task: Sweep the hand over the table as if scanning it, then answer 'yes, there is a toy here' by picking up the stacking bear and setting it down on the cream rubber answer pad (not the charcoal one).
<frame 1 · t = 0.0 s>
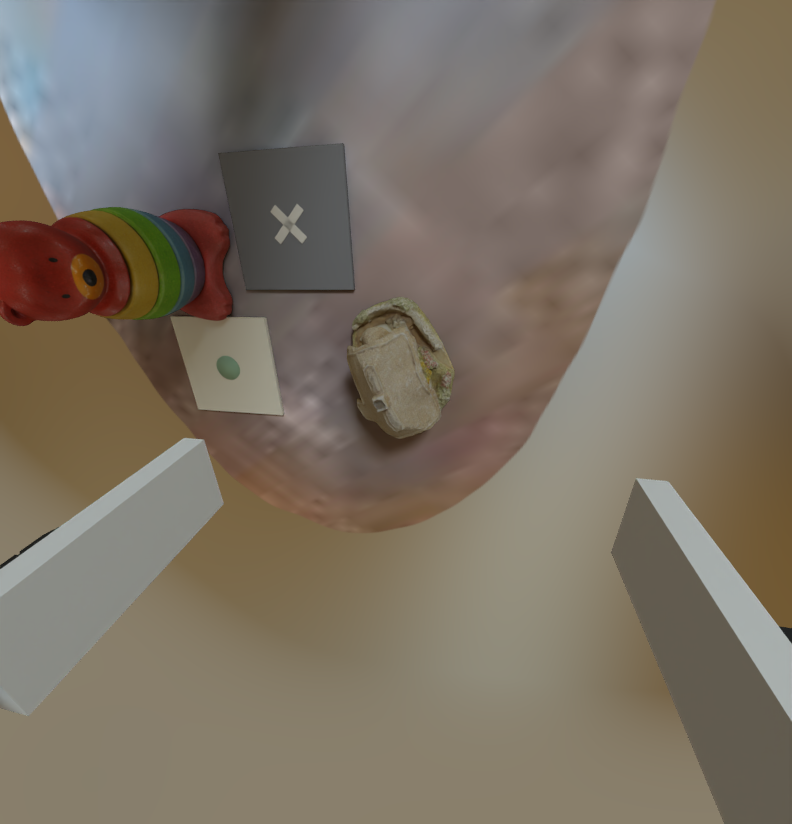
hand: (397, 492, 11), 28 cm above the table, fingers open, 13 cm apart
beige piece: (400, 364, 40), on the table
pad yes: (230, 366, 44), on the table
stacking bear: (191, 263, 39), on the table, touching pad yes
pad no: (290, 224, 35), on the table
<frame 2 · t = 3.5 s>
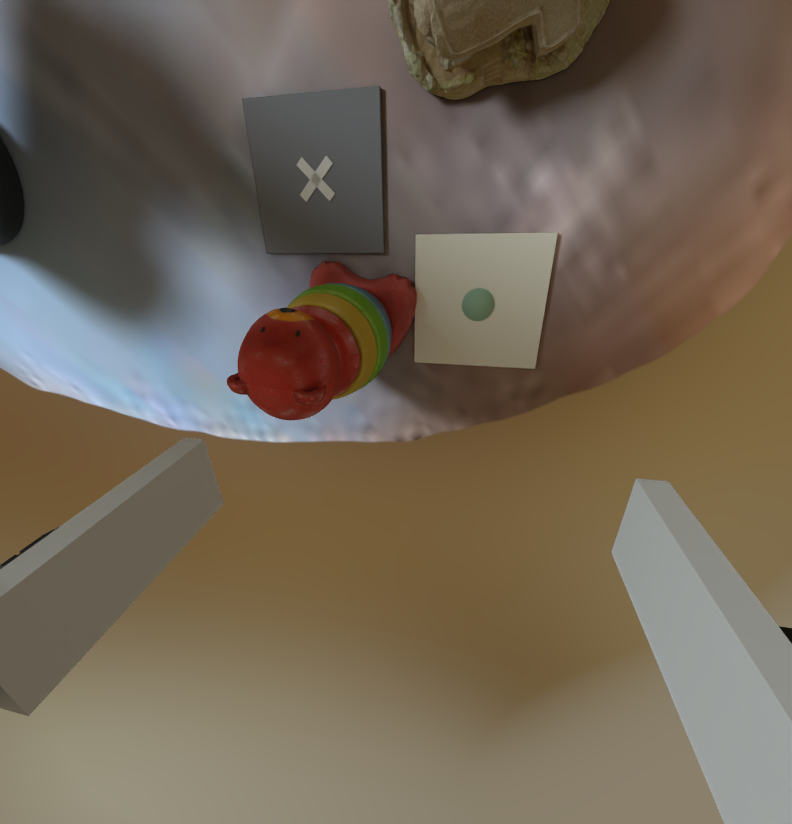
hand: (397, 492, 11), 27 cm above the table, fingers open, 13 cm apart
beige piece: (497, 5, 26), on the table
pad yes: (478, 304, 34), on the table
stacking bear: (361, 318, 37), on the table, touching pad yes
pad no: (318, 180, 32), on the table
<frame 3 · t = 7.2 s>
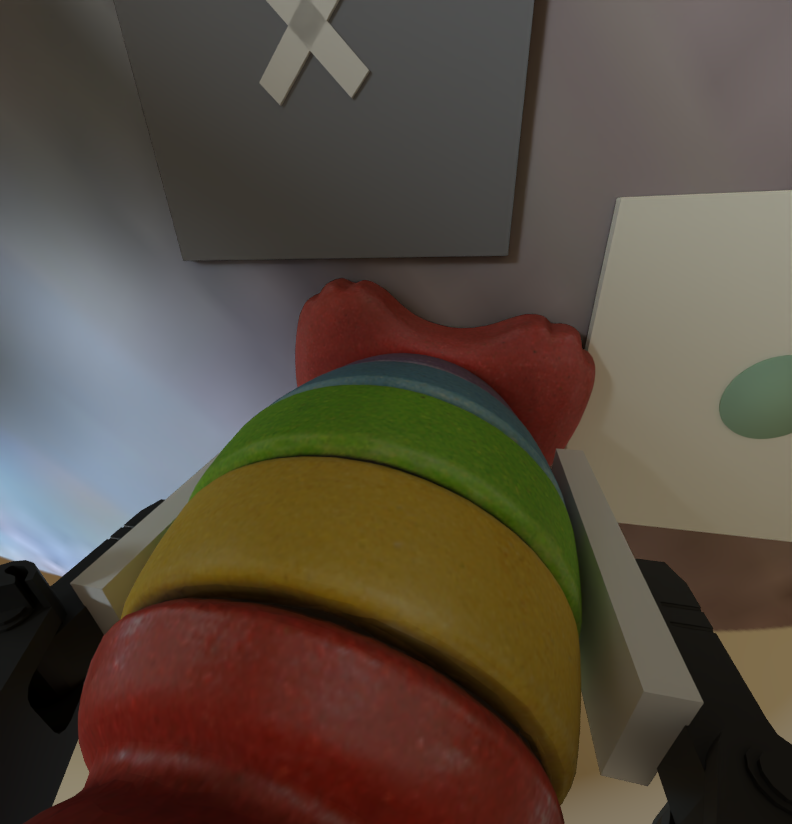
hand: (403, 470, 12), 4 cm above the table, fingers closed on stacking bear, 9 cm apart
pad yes: (765, 393, 12), on the table
stacking bear: (425, 416, 15), on the table, touching gripper, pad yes
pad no: (314, 31, 10), on the table
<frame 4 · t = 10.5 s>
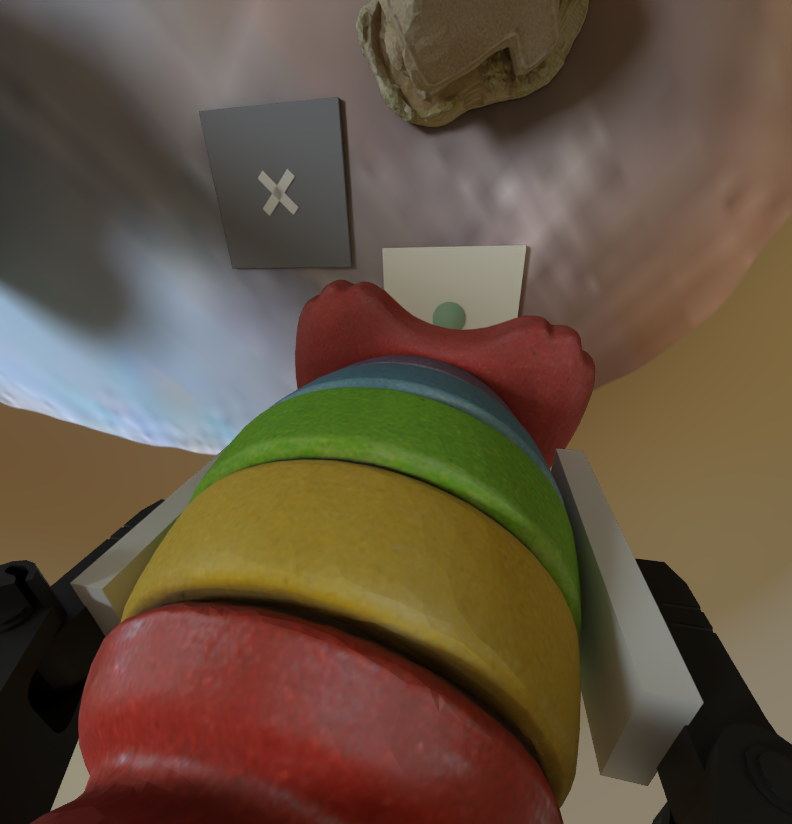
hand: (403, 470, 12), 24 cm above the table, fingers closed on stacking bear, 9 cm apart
beige piece: (471, 28, 25), on the table
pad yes: (449, 317, 33), on the table
stacking bear: (425, 417, 15), point 21 cm above the table, touching gripper
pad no: (280, 193, 31), on the table
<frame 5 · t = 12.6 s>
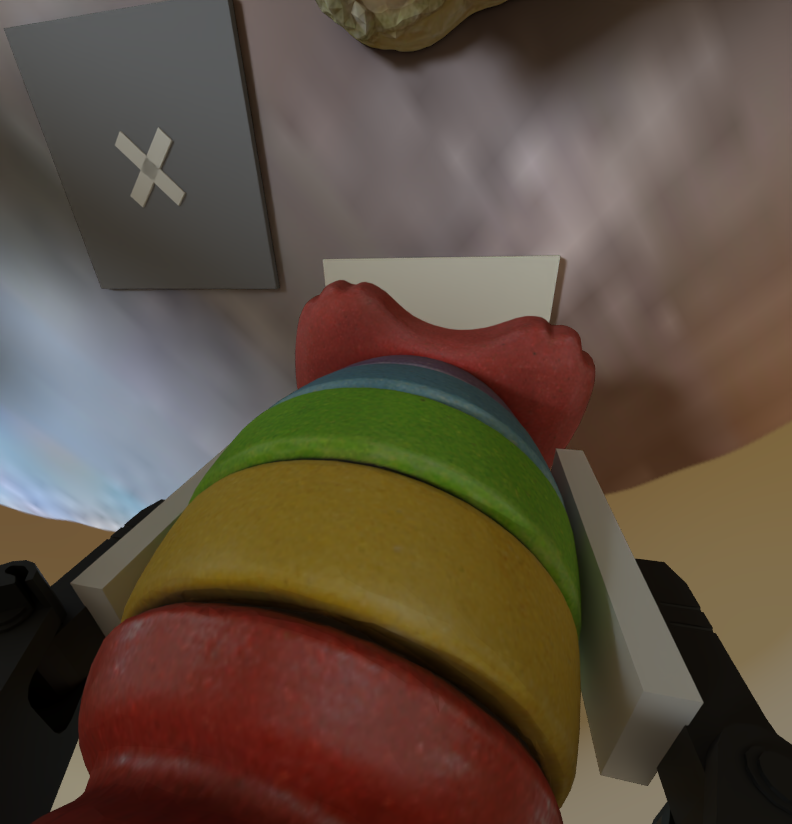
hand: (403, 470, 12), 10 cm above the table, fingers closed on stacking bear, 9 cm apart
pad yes: (432, 367, 21), on the table
stacking bear: (425, 417, 15), point 7 cm above the table, touching gripper
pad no: (157, 170, 19), on the table
when the fingers open (6 cm above the table, at t = 14.2 s): stacking bear drops 2 cm, resting on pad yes.
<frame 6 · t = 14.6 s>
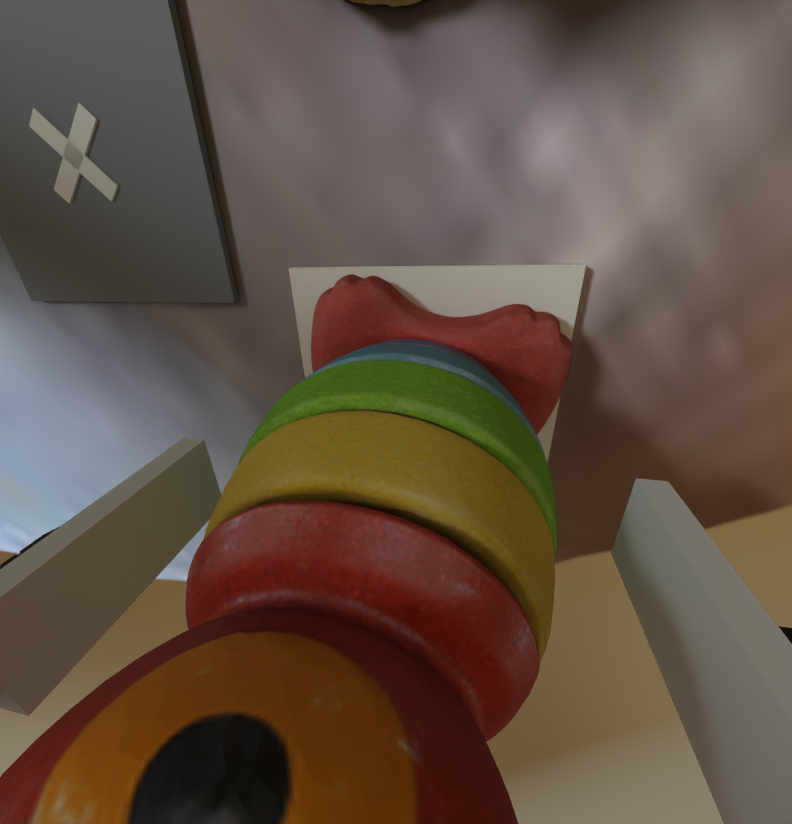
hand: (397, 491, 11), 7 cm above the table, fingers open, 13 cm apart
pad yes: (425, 397, 18), on the table
stacking bear: (426, 396, 17), resting on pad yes
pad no: (84, 158, 16), on the table
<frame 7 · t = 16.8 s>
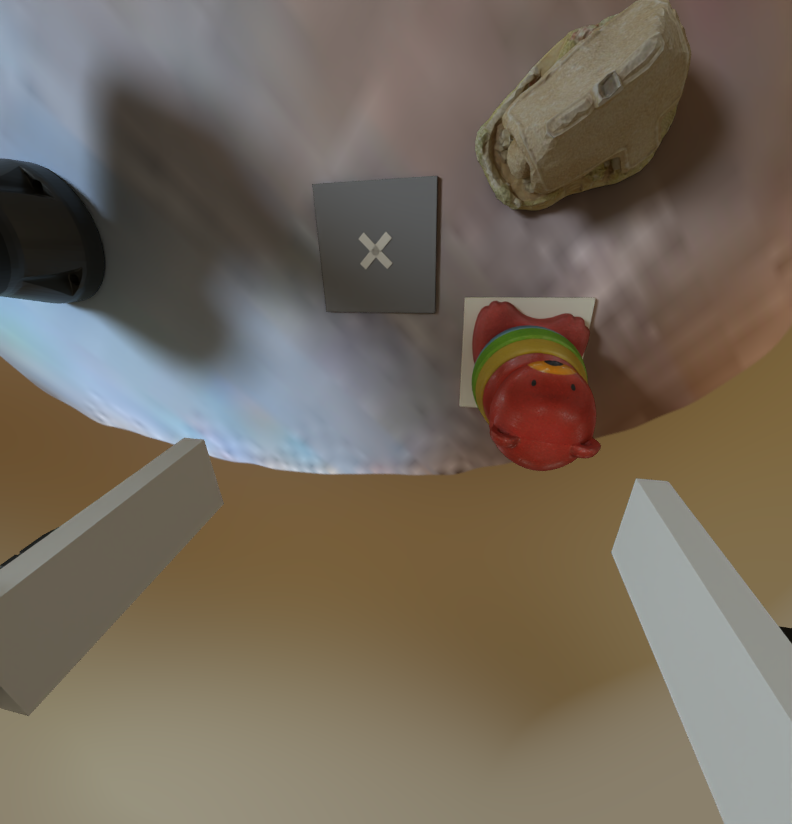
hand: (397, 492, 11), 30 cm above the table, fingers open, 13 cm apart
beige piece: (569, 132, 29), on the table
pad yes: (520, 356, 38), on the table
stacking bear: (521, 355, 37), resting on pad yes
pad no: (376, 250, 36), on the table
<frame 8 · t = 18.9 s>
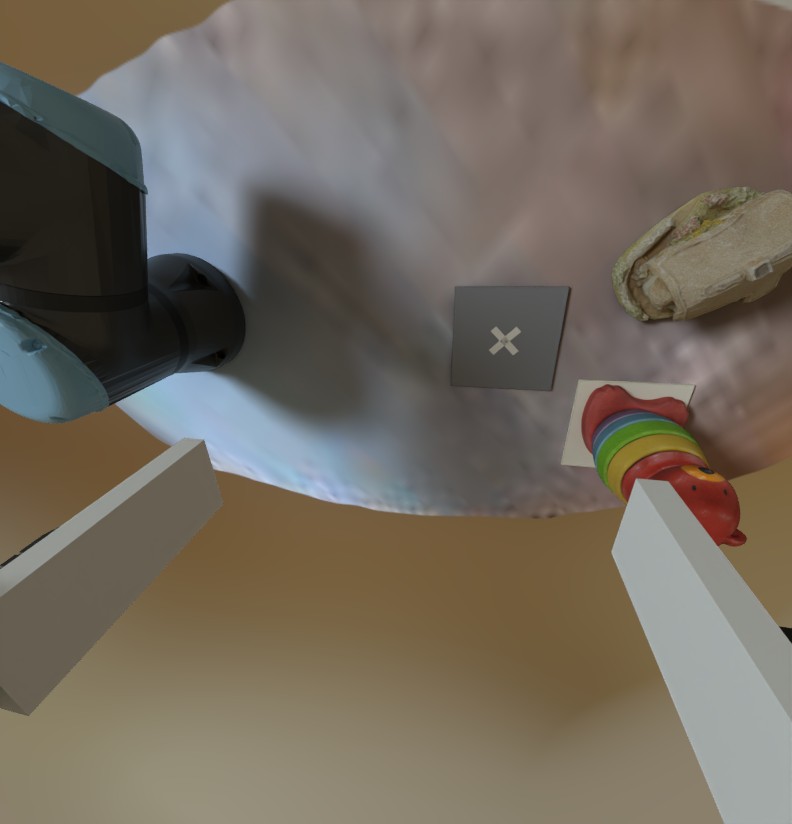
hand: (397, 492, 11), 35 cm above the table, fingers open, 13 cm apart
beige piece: (690, 261, 36), on the table
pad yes: (621, 426, 44), on the table
stacking bear: (623, 426, 44), resting on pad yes
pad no: (504, 340, 43), on the table
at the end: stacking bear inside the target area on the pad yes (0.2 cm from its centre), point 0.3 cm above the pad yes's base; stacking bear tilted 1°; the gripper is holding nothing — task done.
